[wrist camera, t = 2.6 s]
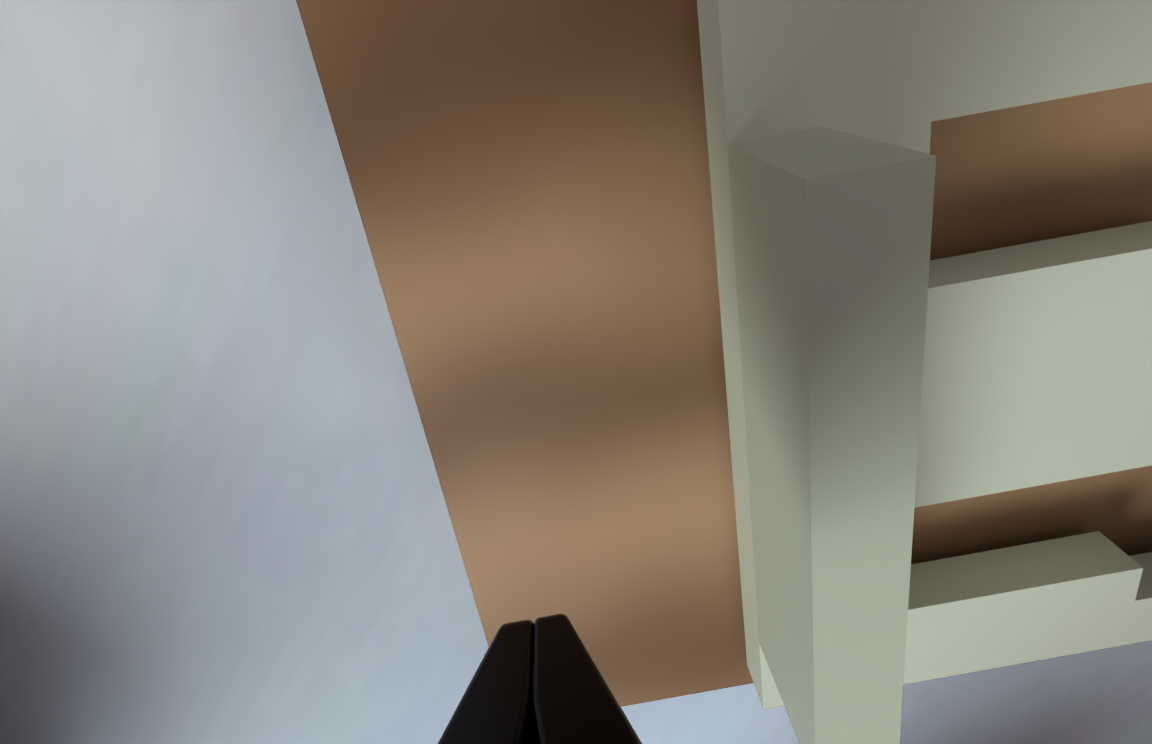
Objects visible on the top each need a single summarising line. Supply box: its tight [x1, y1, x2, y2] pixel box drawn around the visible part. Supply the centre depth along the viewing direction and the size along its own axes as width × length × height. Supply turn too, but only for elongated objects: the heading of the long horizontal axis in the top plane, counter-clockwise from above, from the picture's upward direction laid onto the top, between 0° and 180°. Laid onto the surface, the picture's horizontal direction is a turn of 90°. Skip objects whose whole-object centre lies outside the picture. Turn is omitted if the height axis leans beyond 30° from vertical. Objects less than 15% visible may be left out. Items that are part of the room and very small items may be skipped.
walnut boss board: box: [296, 0, 1152, 707], centre depth 13 cm, size 16×26×4 cm, turn 99°
